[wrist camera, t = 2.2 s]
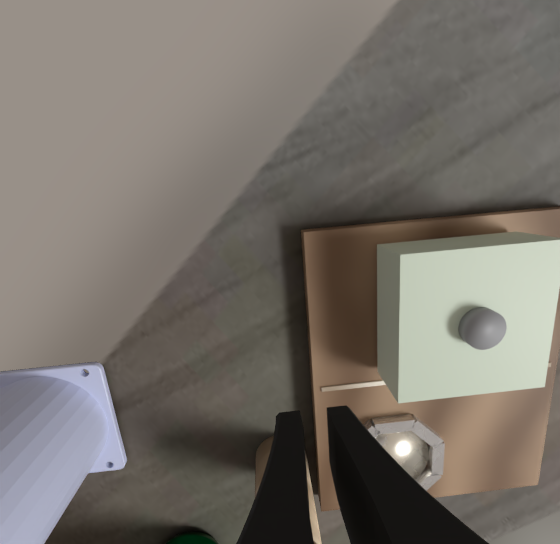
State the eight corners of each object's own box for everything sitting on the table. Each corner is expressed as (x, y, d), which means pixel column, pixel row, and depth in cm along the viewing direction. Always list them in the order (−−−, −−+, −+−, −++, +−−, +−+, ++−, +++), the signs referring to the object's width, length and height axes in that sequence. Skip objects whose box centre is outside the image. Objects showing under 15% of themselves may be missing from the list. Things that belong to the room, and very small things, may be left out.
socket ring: (343, 502, 22) (345, 510, 21) (340, 421, 20) (342, 428, 20) (436, 490, 22) (441, 498, 22) (441, 410, 21) (446, 416, 20)
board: (318, 495, 23) (321, 513, 22) (301, 229, 18) (303, 232, 17) (524, 470, 24) (539, 486, 23) (562, 206, 19) (584, 207, 18)
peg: (258, 478, 23) (257, 600, 16) (253, 437, 22) (249, 548, 15) (307, 472, 23) (326, 591, 16) (304, 431, 22) (323, 539, 15)
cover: (377, 371, 19) (403, 411, 16) (377, 244, 17) (406, 257, 14) (502, 358, 19) (554, 394, 16) (516, 231, 17) (579, 241, 14)
